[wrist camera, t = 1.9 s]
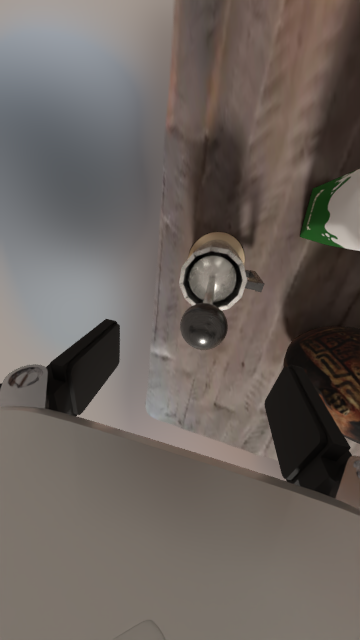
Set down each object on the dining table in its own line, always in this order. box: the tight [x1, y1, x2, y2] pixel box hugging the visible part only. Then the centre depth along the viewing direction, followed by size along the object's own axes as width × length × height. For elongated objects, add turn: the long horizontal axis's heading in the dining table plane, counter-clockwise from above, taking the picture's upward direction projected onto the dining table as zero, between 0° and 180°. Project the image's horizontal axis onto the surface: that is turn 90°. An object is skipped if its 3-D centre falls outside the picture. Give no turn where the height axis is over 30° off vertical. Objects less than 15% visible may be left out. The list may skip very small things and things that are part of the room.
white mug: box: [179, 239, 264, 310], centre depth 30 cm, size 8×11×14 cm
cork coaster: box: [188, 232, 245, 265], centre depth 37 cm, size 11×11×1 cm
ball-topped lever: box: [180, 256, 236, 350], centre depth 18 cm, size 6×6×15 cm
